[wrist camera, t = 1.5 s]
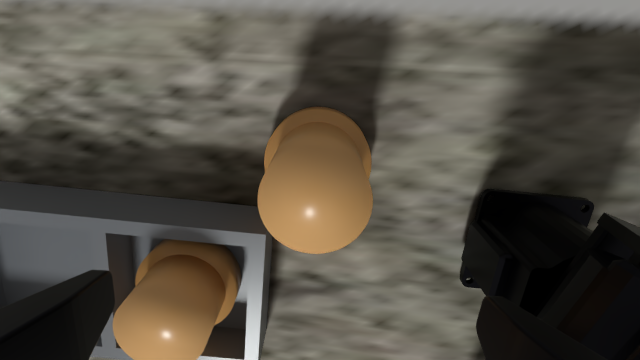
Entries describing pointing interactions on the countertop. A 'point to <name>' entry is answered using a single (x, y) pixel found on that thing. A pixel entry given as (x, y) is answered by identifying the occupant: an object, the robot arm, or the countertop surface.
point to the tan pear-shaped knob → (316, 181)
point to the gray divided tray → (145, 267)
